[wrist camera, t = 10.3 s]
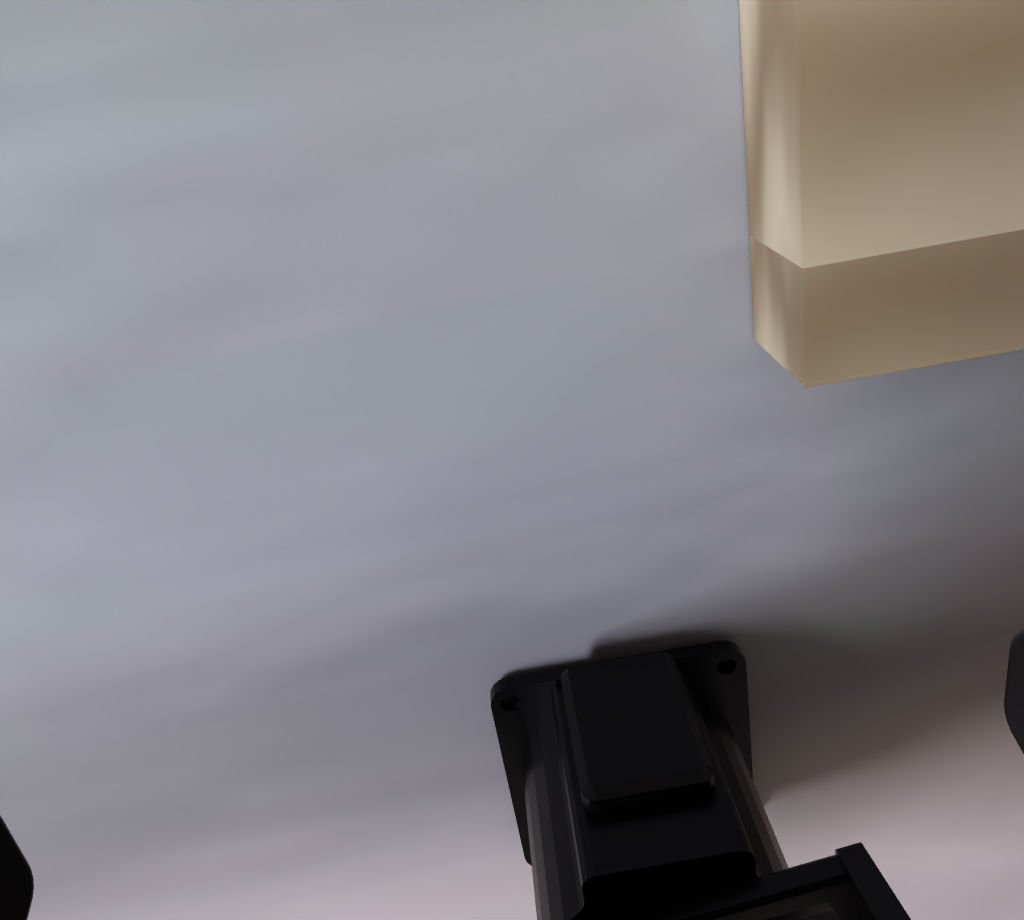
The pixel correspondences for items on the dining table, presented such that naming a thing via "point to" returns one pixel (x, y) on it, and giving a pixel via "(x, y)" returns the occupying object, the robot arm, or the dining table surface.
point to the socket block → (884, 182)
